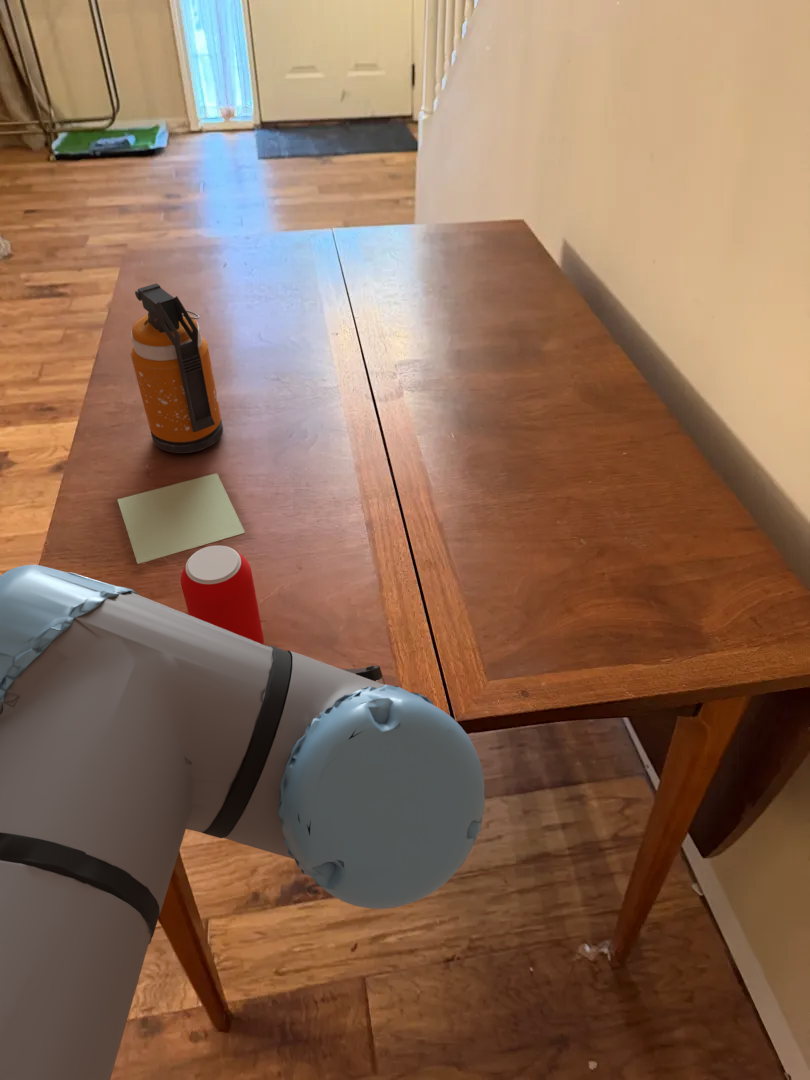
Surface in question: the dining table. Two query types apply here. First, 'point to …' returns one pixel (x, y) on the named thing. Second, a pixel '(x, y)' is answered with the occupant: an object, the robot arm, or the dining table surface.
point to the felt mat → (179, 518)
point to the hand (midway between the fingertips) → (260, 691)
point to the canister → (174, 374)
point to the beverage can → (222, 591)
